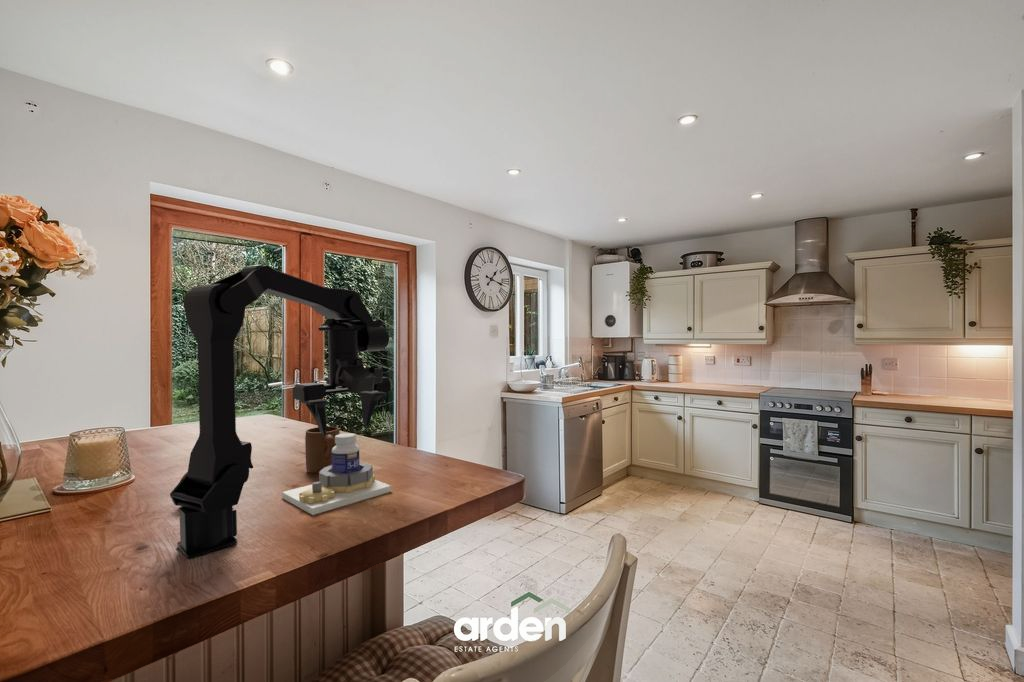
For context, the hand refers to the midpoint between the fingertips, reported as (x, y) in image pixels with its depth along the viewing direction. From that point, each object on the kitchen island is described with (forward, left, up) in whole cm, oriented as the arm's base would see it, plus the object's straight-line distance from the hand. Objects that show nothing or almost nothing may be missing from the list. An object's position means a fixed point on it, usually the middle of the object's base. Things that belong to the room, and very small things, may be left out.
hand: (345, 430), depth 97 cm
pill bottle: (0, 0, -10) cm, 10 cm away
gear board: (-3, -1, -12) cm, 13 cm away
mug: (+3, +16, -13) cm, 21 cm away
